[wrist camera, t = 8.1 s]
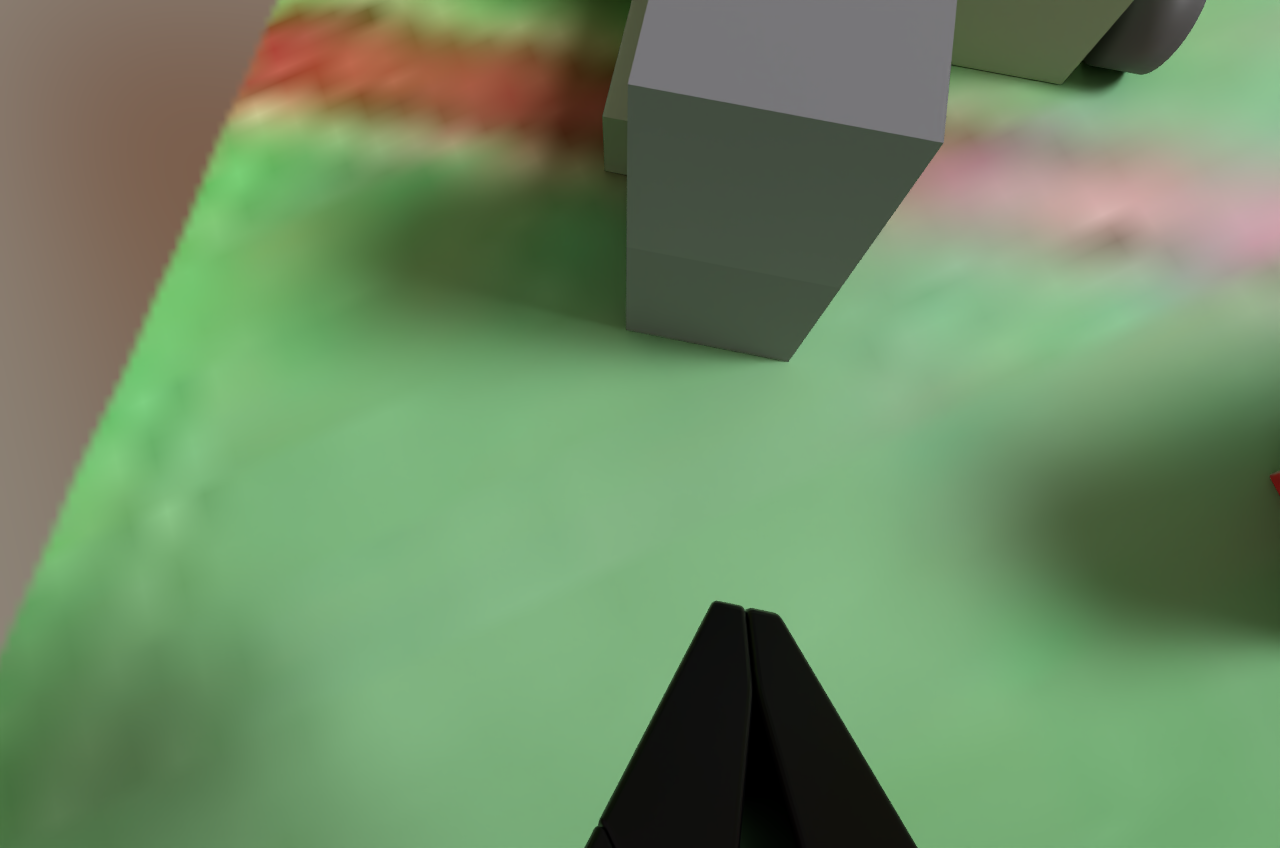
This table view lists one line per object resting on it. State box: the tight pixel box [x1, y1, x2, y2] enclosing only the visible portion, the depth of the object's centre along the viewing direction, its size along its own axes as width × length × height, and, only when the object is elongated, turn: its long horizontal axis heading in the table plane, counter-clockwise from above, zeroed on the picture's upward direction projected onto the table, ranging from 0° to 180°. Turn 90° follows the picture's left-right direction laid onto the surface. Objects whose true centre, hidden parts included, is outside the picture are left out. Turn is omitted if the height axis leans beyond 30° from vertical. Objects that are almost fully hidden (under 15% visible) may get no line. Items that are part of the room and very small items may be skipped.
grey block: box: [626, 0, 957, 362], centre depth 20 cm, size 14×6×12 cm, turn 169°
